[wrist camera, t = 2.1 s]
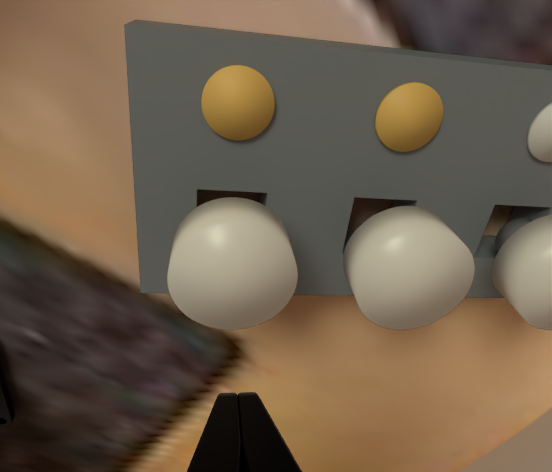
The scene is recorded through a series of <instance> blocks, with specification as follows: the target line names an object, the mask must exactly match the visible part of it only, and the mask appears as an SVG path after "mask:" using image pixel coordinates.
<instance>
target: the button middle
mask: <svg viewBox="0 0 552 472" xmlns="http://www.w3.org/2000/svg"><path fill="white" fill-rule="evenodd" d="M343 269H344V273H345V276H346V278H347V280H348V283H349V285H350V287H351V289H352V292H353V294H354V296H355V299H356V301H357V303H358V306H359V308H360V310H361V311H362V313H363V314H364V315H365V317H366V318H368V319H369V320H370V321H371V322H373V323H374V324H376V325H379V326H381V327H384V328H388V329H395V330H406V329H414V328H418V327H422V326H425V325H428V324H430V323H432V322H435V321H437V320H438V319H440V318H442V317H444V316H445V315H447V314H448V313H449V312H451V311H452V310H453V309H454V308H455V307H456V306H457V305H458V304H459V303H460V302H461V301H462V300H463V298H464V297H465V295H466V294H467V292H468V291H469V289H470V287H471V284H472V281H473V278H474V271H475V265H474V259H473V256H472V254H471V252H470V250H469V249H468V247H467V246H466V245H465V244H464V243H463V242H462V241H461V240H460V239H459V238H458V236H457V235H456V234H455V233H454V232H453V231H452V230H451V229H450V228H449V227H448V226H447V225H446V224H445V223H444V222H443V221H442V220H441V218H440V217H438V216H437V215H436V214H435V213H433V212H431V211H430V210H427V209H425V208H421V207H417V206H399V207H394V208H390V209H387V210H384V211H381V212H379V213H376V214H373V215H372V216H370V217H369V218H367V219H366V220H365V221H364V223H362V224H361V225H360V226H359V227H358V228H357V229H356V231H355V232H354V233H353V234H352V236H351V237H350V239H349V241H348V243H347V245H346V247H345V251H344V255H343Z"/></svg>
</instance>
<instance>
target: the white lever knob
mask: <svg viewBox="0 0 552 472" xmlns="http://www.w3.org/2000/svg"><path fill="white" fill-rule="evenodd" d="M495 246H496V249H497V250H498V253H497V255H496V257H495V260H494V262H493V266H492V280H493V284H494V286H495V287H496V289H497V290H498V291H499V292H500V293H501V294H502V296H503V297H504V298H505V299H506V300H507V301H508V302H509V303H510V304H511V305H512V307H513V308H514V309H515V310H516V311H517V312H518V313H519V314H520V315H521V317H522V318H523V319H524V320H525V321H526V322H527V323H529V324H530V325H532V326H533V327H536V328H539V329H544V330H552V214H551V215H547V216H544V217H541V218H538V219H536V220H534V221H532V220H530V219H528V218H519V219H515V220H513V221H510V222H509V223H507V224H506V225H505V226H503V227H502V228H501V230H500V231H499V232H498V234H497V236H496V239H495Z"/></svg>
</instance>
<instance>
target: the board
mask: <svg viewBox="0 0 552 472" xmlns="http://www.w3.org/2000/svg"><path fill="white" fill-rule="evenodd" d="M124 28H125V44H126V60H127V77H128V93H129V109H130V125H131V142H132V158H133V174H134V191H135V207H136V223H137V239H138V256H139V272H140V288H141V293H170V292H169V289H168V282H167V276H168V268H169V262H170V256H171V251H172V245H173V240H174V235H175V233H176V230H177V228H178V226H179V224H180V223H181V221H182V220H183V219H184V218H185V216H186V215H188V214H189V213H190V212H191V211H192V210H193V209H195V208H196V207H198V190H199V189H202V190H221V191H241V192H260V193H261V194H260V203H261V204H263V205H264V206H266V207H268V208H269V209H271V210H272V211H273V212H274V213H275V214H276V215H277V216H278V217H279V218H280V219H281V221H282V222H283V224H284V226H285V228H286V230H287V233H288V236H289V240H290V243H291V247H292V251H293V254H294V258H295V261H296V265H297V272H298V279H297V285H296V289H295V291H294V294H293V295H332V296H354V294H353V292H352V289H351V287H350V285H349V283H348V280H347V278H346V276H345V273H344V269H343V255H344V251H345V247H346V245H347V243H348V241H349V239H350V237H351V236H352V234H353V233H354V232H355V231H347V229H348V224H349V220H350V215H351V211H352V206H353V202H354V197H357V198H377V199H394V201H393V204H392V208H394V207H399V206H417V207H421V208H425V209H427V210H430V211H431V212H433V213H435V214H436V215H437V216H438V217H440V218H441V220H442V221H443V222H444V223H445V224H446V225H447V226H448V227H449V228H450V229H451V230H452V231H453V232H454V233H455V234H456V235H457V236H458V238H459V239H460V240H461V241H462V242H463V243H464V244H465V245H466V246H467V247H468V249H469V250H470V252H471V254H472V256H473V259H474V265H475V271H474V278H473V281H472V284H471V287H470V289H469V291H468V292H467V294H466V295H465V297H476V298H504V297H503V296H502V294H501V293H500V292H499V291H498V290H497V289H496V287H495V286H494V284H493V280H492V266H493V262H494V260H495V257H496V255H497V253H498V250H497V249H496V246H495V239H496V236H483V233H484V231H485V228H486V226H487V223H488V221H489V218H490V216H491V214H492V211H493V209H494V206H495V205H513V206H514V208H513V211H512V213H511V215H510V218H509V220H508V222H507V223H509V222H510V221H513V220H515V219H519V218H528V219H530V220H532V221H534V220H536V219H538V218H541V217H544V216H547V215H551V214H552V65H543V64H534V63H525V62H516V61H507V60H498V59H489V58H480V57H471V56H462V55H452V54H443V53H434V52H425V51H416V50H407V49H398V48H389V47H380V46H370V45H361V44H352V43H343V42H334V41H325V40H316V39H307V38H298V37H289V36H279V35H270V34H261V33H252V32H243V31H234V30H225V29H216V28H207V27H198V26H188V25H179V24H170V23H161V22H152V21H143V20H134V21H131V22H129V23H127V24H125V25H124Z"/></svg>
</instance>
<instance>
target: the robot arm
mask: <svg viewBox="0 0 552 472" xmlns="http://www.w3.org/2000/svg"><path fill="white" fill-rule="evenodd" d="M14 417H15V414H14V410H13V407H12V404H11V400H10V397H9V394H8V390H7V387H6V384H5V380H4V377H3V374H2V370H1V367H0V427H8V426H10V425H11V423H12V421H13V419H14ZM187 472H302V471H301V469H300V468H299V466H298V464H297V462H296V461H295V459H294V457H293V455H292V454H291V452H290V450H289V448H288V447H287V445H286V443H285V441H284V440H283V438H282V436H281V434H280V433H279V431H278V429H277V427H276V426H275V424H274V422H273V420H272V419H271V417H270V415H269V413H268V412H267V410H266V408H265V406H264V405H263V403H262V401H261V399H260V398H259V396H258V395H257V394H256V393H254V392H246V393H239V394H238V396H237V394H236V393H220V394H219V395H218V396H217V399H216V401H215V403H214V406H213V408H212V411H211V413H210V416H209V418H208V421H207V423H206V426H205V428H204V431H203V433H202V436H201V438H200V440H199V443H198V445H197V448H196V450H195V453H194V455H193V458H192V460H191V463H190V465H189V468H188V470H187Z"/></svg>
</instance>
